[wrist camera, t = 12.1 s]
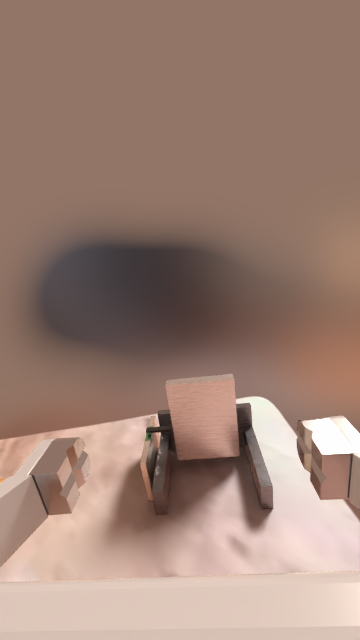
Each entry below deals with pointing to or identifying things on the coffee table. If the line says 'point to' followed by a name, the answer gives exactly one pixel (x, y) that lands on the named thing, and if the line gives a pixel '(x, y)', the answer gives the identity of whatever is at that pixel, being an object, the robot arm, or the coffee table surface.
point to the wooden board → (202, 417)
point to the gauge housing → (160, 449)
